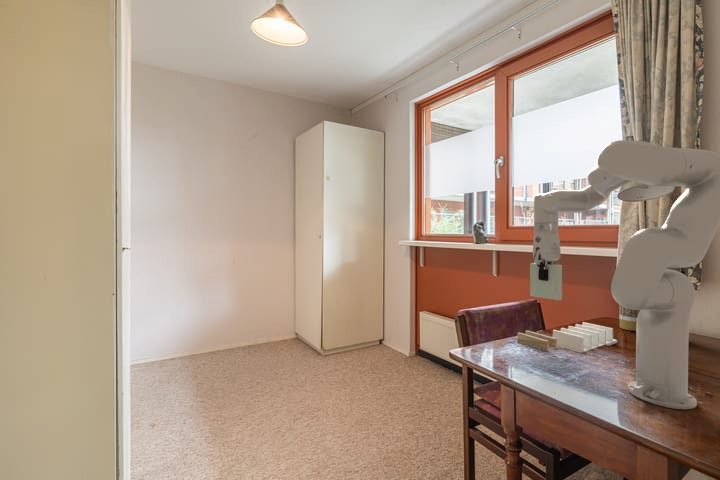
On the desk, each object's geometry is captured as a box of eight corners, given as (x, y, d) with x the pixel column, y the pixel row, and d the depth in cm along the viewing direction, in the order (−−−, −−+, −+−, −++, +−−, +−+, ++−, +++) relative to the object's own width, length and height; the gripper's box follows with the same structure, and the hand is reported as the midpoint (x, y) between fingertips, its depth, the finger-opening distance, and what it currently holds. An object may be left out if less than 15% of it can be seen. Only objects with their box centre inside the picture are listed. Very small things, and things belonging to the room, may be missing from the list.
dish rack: (580, 355, 109) (581, 339, 109) (548, 345, 119) (548, 330, 118) (617, 342, 121) (617, 327, 121) (584, 334, 131) (584, 321, 131)
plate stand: (547, 353, 111) (547, 342, 111) (515, 343, 121) (515, 332, 121) (559, 350, 114) (559, 338, 114) (526, 340, 125) (526, 329, 125)
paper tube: (641, 329, 139) (641, 269, 138) (640, 332, 134) (640, 271, 133) (620, 325, 143) (621, 268, 143) (618, 329, 138) (619, 269, 138)
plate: (558, 300, 113) (558, 265, 113) (530, 295, 122) (530, 263, 121) (561, 299, 114) (561, 264, 114) (533, 295, 123) (533, 263, 123)
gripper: (543, 228, 110) (543, 283, 110) (569, 228, 118) (568, 279, 119) (522, 228, 116) (522, 280, 117) (548, 228, 125) (547, 277, 125)
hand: (545, 279), depth 118 cm, fingers closed on plate, 2 cm apart
